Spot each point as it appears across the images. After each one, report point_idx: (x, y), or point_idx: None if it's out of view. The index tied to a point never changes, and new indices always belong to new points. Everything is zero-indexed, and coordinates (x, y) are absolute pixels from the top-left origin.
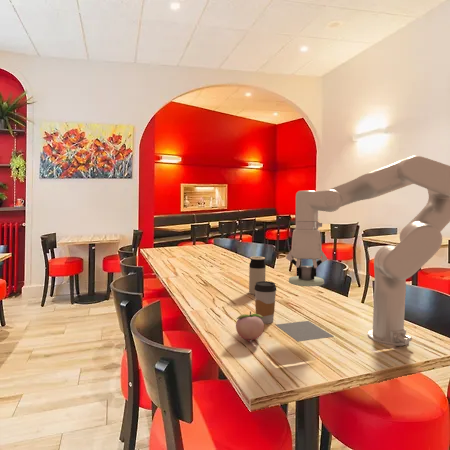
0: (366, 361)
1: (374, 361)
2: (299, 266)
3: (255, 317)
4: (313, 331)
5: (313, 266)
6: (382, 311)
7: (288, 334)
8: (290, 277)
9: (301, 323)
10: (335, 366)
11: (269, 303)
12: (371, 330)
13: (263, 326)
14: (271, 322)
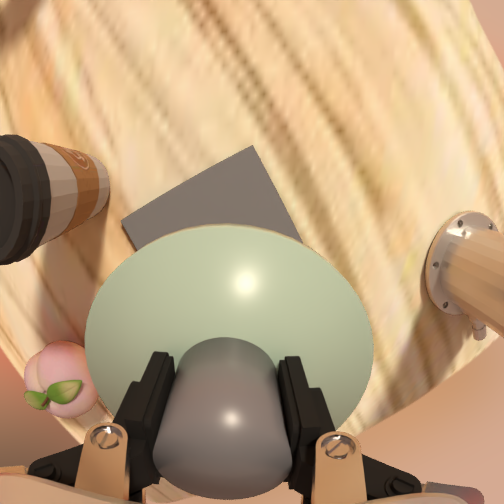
0: (363, 404)
1: (380, 399)
2: (146, 478)
3: (65, 408)
4: None
5: (302, 487)
6: (496, 331)
7: None
8: (88, 320)
9: (220, 184)
10: None
11: (59, 234)
12: (448, 233)
13: (96, 393)
14: (104, 204)
